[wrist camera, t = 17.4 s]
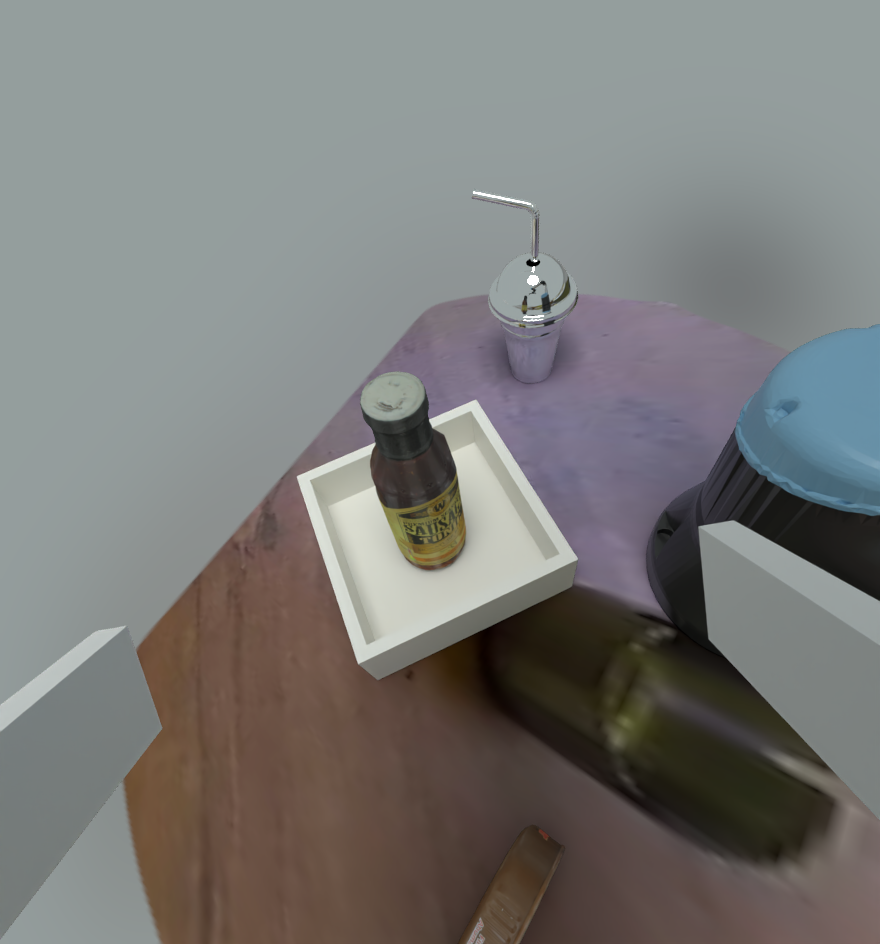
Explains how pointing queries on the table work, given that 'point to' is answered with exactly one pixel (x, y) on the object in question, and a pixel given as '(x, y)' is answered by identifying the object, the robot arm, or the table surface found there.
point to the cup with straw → (530, 301)
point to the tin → (515, 890)
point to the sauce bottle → (413, 472)
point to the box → (446, 589)
